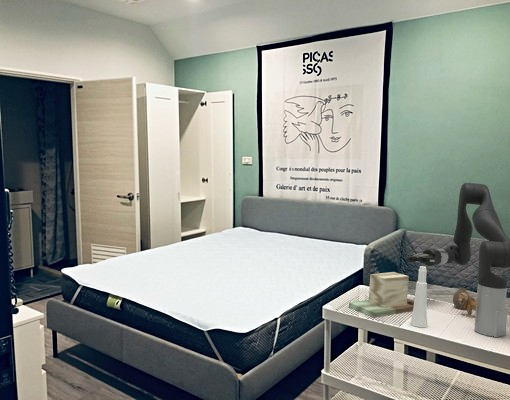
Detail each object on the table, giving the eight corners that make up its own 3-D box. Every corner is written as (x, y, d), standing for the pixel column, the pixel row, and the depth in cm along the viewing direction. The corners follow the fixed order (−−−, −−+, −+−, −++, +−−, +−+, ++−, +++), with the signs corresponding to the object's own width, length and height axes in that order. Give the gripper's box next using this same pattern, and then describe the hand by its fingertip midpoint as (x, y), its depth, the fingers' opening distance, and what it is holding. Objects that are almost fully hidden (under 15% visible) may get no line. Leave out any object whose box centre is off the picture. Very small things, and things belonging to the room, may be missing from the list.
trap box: (425, 309, 186) (425, 304, 186) (373, 317, 171) (374, 312, 171) (399, 300, 198) (399, 295, 198) (348, 307, 183) (349, 302, 183)
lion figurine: (454, 314, 180) (456, 292, 180) (459, 312, 184) (461, 290, 184) (493, 324, 170) (495, 301, 170) (498, 321, 174) (500, 299, 173)
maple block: (406, 304, 184) (408, 276, 184) (383, 308, 177) (384, 278, 177) (392, 299, 191) (393, 272, 191) (368, 302, 184) (370, 274, 183)
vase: (454, 309, 188) (455, 289, 187) (450, 305, 194) (452, 285, 194) (471, 311, 186) (473, 291, 186) (467, 306, 193) (469, 287, 192)
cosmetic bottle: (409, 321, 168) (413, 264, 167) (426, 323, 167) (430, 266, 166) (410, 326, 162) (415, 267, 161) (428, 328, 161) (432, 269, 160)
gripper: (423, 246, 203) (397, 248, 194) (448, 251, 192) (422, 253, 183) (422, 262, 204) (395, 264, 195) (447, 268, 192) (420, 271, 183)
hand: (408, 259), depth 189 cm, fingers closed
